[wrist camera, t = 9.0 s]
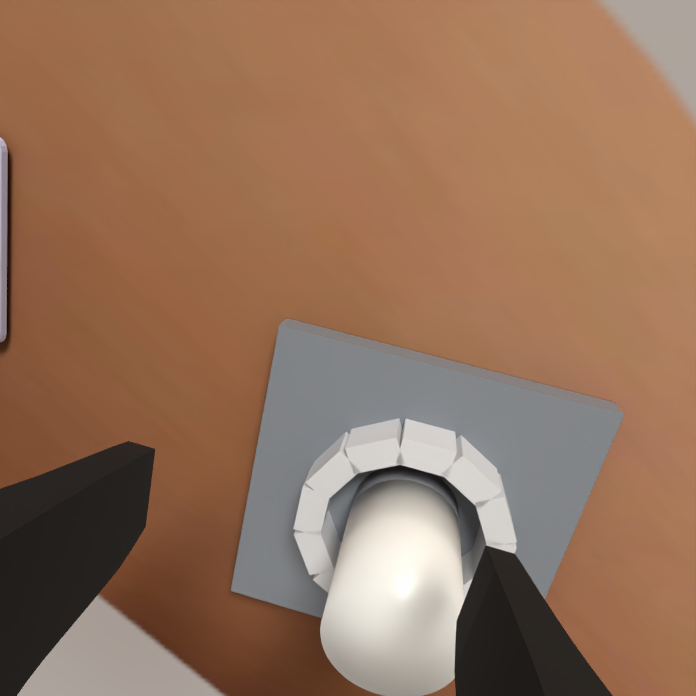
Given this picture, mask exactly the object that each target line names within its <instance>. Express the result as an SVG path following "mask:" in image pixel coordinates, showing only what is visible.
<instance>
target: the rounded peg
mask: <svg viewBox="0 0 696 696" xmlns="http://www.w3.org/2000/svg"><path fill="white" fill-rule="evenodd" d="M463 603H464V590H463V574H462V558H461V542H460V526H459V510H458V505H457V501H456V498H455V496H454V494H453V492H452V491H451V489H450V488H449V487H448V485H447V484H446V483H445V482H444V481H443V480H442V479H440V478H439V477H438V476H436V475H435V474H432V473H428V472H425V471H421V470H417V469H414V468H410V467H407V466H403V465H396V466H391V467H386V468H381V469H379V470H376V471H375V472H373V473H371V474H370V475H368V476H367V477H366V478H365V479H364V480H363V481H362V482H361V483H360V485H359V486H358V488H357V490H356V492H355V494H354V497H353V501H352V505H351V509H350V512H349V516H348V520H347V524H346V528H345V532H344V536H343V539H342V543H341V547H340V551H339V555H338V559H337V563H336V567H335V570H334V574H333V578H332V582H331V586H330V590H329V594H328V597H327V601H326V605H325V609H324V613H323V617H322V621H321V627H320V636H321V642H322V646H323V649H324V651H325V653H326V655H327V657H328V659H329V660H330V662H331V663H332V665H333V666H334V667H335V668H336V669H337V671H338V672H339V673H341V674H342V675H343V676H344V677H345V678H346V679H348V680H349V681H350V682H352V683H354V684H355V685H357V686H359V687H361V688H363V689H365V690H367V691H370V692H373V693H376V694H379V695H383V696H423V695H427V694H430V693H433V692H435V691H437V690H439V689H441V688H443V687H445V686H446V685H447V684H449V683H450V682H451V681H452V680H453V679H454V678H455V672H454V669H455V641H456V621H457V618H458V616H459V613H460V610H461V608H462V605H463Z"/></svg>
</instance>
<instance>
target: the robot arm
mask: <svg viewBox="0 0 696 696" xmlns="http://www.w3.org/2000/svg"><path fill="white" fill-rule="evenodd" d="M7 179H8V151H7V146H6V144H5V142H4V140H3V139H2V138H1V137H0V342H3V341H4V340H5V338H6V334H7ZM154 454H155V449H153V448H150V447H147V446H143V445H140V444H136V443H133V442H129V441H128V442H125V443H122V444H119V445H116V446H113V447H111V448H108V449H106V450H103V451H100V452H98V453H95V454H93V455H90V456H88V457H85V458H83V459H80V460H78V461H75V462H73V463H70V464H67V465H65V466H62V467H60V468H57V469H55V470H52V471H49V472H47V473H44V474H42V475H39V476H36V477H33V478H31V479H28V480H25V481H22V482H19V483H16V484H13V485H10V486H7V487H4V488H2V489H0V696H17V694H18V693H19V692H20V690H21V689H22V687H23V686H24V684H25V683H26V682H27V680H28V679H29V678H30V676H31V675H32V674H33V673H34V671H35V670H36V668H37V667H38V666H39V665H40V663H41V662H42V661H43V660H44V658H45V657H46V656H47V655H48V654H49V652H50V651H51V650H52V649H53V648H54V646H55V645H56V644H57V643H58V642H59V640H60V639H61V638H62V637H63V636H64V634H65V633H66V632H67V631H68V630H69V628H70V627H71V626H72V625H73V623H74V622H75V621H76V620H77V619H78V618H79V616H80V615H81V614H82V613H83V612H84V610H85V609H86V608H87V607H88V606H89V604H90V603H91V602H92V601H93V600H94V598H95V597H96V596H97V595H98V593H99V592H100V591H101V590H102V589H103V587H104V586H105V585H106V584H107V583H108V581H109V580H110V579H111V578H112V576H113V575H114V574H115V573H116V571H117V570H118V569H119V568H120V566H121V565H122V563H123V562H124V560H125V559H126V557H127V555H128V554H129V552H130V551H131V549H132V548H133V546H134V545H135V543H136V541H137V540H138V538H139V536H140V535H141V533H142V532H143V530H144V528H145V526H146V518H147V510H148V502H149V494H150V486H151V478H152V470H153V462H154ZM454 672H455V687H456V696H612V694H611V693H610V692H609V690H608V689H607V688H606V686H605V685H604V684H603V682H602V681H601V680H600V679H599V677H598V676H597V675H596V673H595V672H594V671H593V669H592V668H591V667H590V665H589V664H588V663H587V661H586V660H585V658H584V657H583V656H582V654H581V653H580V651H579V650H578V649H577V647H576V646H575V644H574V643H573V641H572V640H571V639H570V637H569V636H568V634H567V633H566V631H565V630H564V628H563V627H562V625H561V624H560V622H559V621H558V619H557V618H556V616H555V615H554V613H553V612H552V610H551V609H550V607H549V606H548V604H547V603H546V601H545V599H544V598H543V596H542V595H541V593H540V592H539V590H538V588H537V587H536V585H535V584H534V582H533V581H532V579H531V577H530V576H529V574H528V573H527V571H526V570H525V568H524V566H523V565H522V563H521V562H520V560H519V559H518V557H517V556H516V554H514V553H511V552H507V551H504V550H500V549H497V548H494V547H490V546H487V545H486V546H485V548H484V551H483V553H482V556H481V559H480V561H479V564H478V566H477V569H476V571H475V574H474V577H473V579H472V582H471V584H470V587H469V590H468V592H467V595H466V597H465V600H464V603H463V605H462V608H461V610H460V613H459V616H458V618H457V621H456V641H455V669H454Z"/></svg>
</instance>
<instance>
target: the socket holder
mask: <svg viewBox="0 0 696 696" xmlns="http://www.w3.org/2000/svg"><path fill="white" fill-rule="evenodd" d="M623 416H624V414H623V412H622V411H621V410H620V408H619V407H618V406H617V405H616V403H614V402H611V401H607V400H603V399H599V398H595V397H591V396H587V395H583V394H579V393H576V392H572V391H568V390H564V389H560V388H556V387H552V386H548V385H545V384H541V383H537V382H533V381H529V380H525V379H521V378H517V377H513V376H510V375H506V374H502V373H498V372H494V371H490V370H486V369H482V368H478V367H475V366H471V365H467V364H463V363H459V362H455V361H451V360H447V359H443V358H440V357H436V356H432V355H428V354H424V353H420V352H416V351H412V350H409V349H405V348H401V347H397V346H393V345H389V344H385V343H381V342H377V341H374V340H370V339H366V338H362V337H358V336H354V335H350V334H346V333H342V332H339V331H335V330H331V329H327V328H323V327H319V326H315V325H311V324H308V323H304V322H300V321H296V320H292V319H288V318H286V319H285V320H284V321H283V322H282V323H281V324H280V325H279V329H278V334H277V340H276V345H275V351H274V356H273V362H272V367H271V373H270V378H269V384H268V389H267V395H266V400H265V406H264V411H263V416H262V422H261V427H260V433H259V438H258V444H257V449H256V455H255V460H254V466H253V471H252V477H251V482H250V488H249V493H248V499H247V504H246V510H245V515H244V521H243V526H242V531H241V537H240V542H239V548H238V553H237V559H236V564H235V570H234V575H233V581H232V586H231V591H233V592H236V593H239V594H243V595H246V596H249V597H253V598H256V599H259V600H263V601H266V602H269V603H272V604H276V605H279V606H282V607H286V608H289V609H292V610H296V611H299V612H302V613H306V614H309V615H312V616H316V617H319V618H322V617H323V613H324V609H325V605H326V601H327V597H328V594H329V590H330V586H331V582H332V578H333V574H334V570H335V567H336V563H337V559H338V555H339V551H340V547H341V543H342V539H343V536H344V532H345V528H346V524H347V520H348V516H349V512H350V509H351V505H352V501H353V497H354V494H355V492H356V490H357V488H358V486H359V485H360V483H361V482H362V481H363V480H364V479H365V478H366V477H367V476H368V475H370V474H371V473H373V472H375V471H376V470H379V469H381V468H386V467H391V466H396V465H403V466H407V467H410V468H414V469H417V470H421V471H425V472H428V473H432V474H435V475H436V476H438V477H439V478H440V479H442V480H443V481H444V482H445V483H446V484H447V485H448V487H449V488H450V489H451V491H452V492H453V494H454V496H455V498H456V501H457V505H458V510H459V526H460V542H461V558H462V574H463V590H464V600H465V597H466V595H467V592H468V590H469V587H470V584H471V582H472V579H473V577H474V574H475V571H476V569H477V566H478V564H479V561H480V559H481V556H482V553H483V551H484V548H485V546H486V545H487V546H490V547H494V548H497V549H500V550H504V551H507V552H511V553H514V554H516V556H517V557H518V559H519V560H520V562H521V563H522V565H523V566H524V568H525V570H526V571H527V573H528V574H529V576H530V577H531V579H532V581H533V582H534V584H535V585H536V587H537V588H538V590H539V592H540V593H541V595H542V596H543V598H544V599H545V597H546V595H547V593H548V590H549V588H550V586H551V583H552V581H553V579H554V576H555V574H556V572H557V569H558V567H559V565H560V562H561V560H562V558H563V556H564V553H565V551H566V549H567V546H568V544H569V542H570V539H571V537H572V535H573V532H574V530H575V528H576V525H577V523H578V521H579V518H580V516H581V514H582V511H583V509H584V507H585V504H586V502H587V500H588V497H589V495H590V493H591V490H592V488H593V486H594V484H595V481H596V479H597V477H598V474H599V472H600V470H601V467H602V465H603V463H604V460H605V458H606V456H607V453H608V451H609V449H610V446H611V444H612V442H613V439H614V437H615V435H616V432H617V430H618V428H619V425H620V423H621V421H622V418H623Z"/></svg>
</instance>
